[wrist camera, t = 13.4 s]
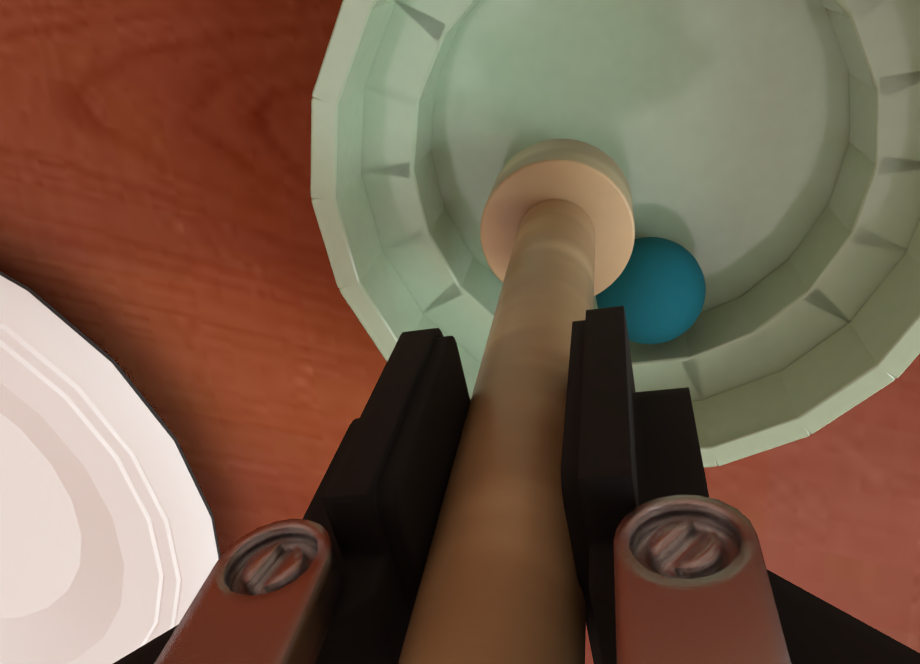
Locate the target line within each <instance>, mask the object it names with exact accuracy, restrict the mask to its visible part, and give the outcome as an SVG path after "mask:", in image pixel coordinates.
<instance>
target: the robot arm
mask: <svg viewBox="0 0 920 664" xmlns="http://www.w3.org/2000/svg"><path fill="white" fill-rule="evenodd" d="M469 405H470V397H469V393H468V388H467V384H466V380H465V376H464V372H463V367H462V363H461V359H460V355H459V351H458V346H457V343H456V340H455V338H454V337H453V336H443V334H442V332H441V330H440V329H439V328H432V329H424V330H415V331H407V332H402V334H401V335H400V337H399V339H398V341H397V343H396V345H395V347H394V349H393V351H392V353H391V355H390V357H389V359H388V361H387V364H386V366H385V368H384V370H383V372H382V374H381V376H380V378H379V380H378V382H377V384H376V386H375V388H374V390H373V392H372V394H371V396H370V398H369V400H368V402H367V404H366V406H365V408H364V411H363V413H362V415H361V417H360V418H358V419H355V420H353V422H352V423H351V424H350V426H349V428H348V430H347V432H346V434H345V436H344V438H343V440H342V442H341V444H340V446H339V448H338V450H337V452H336V454H335V456H334V458H333V460H332V462H331V464H330V466H329V468H328V470H327V472H326V474H325V476H324V478H323V480H322V482H321V484H320V486H319V488H318V490H317V492H316V494H315V496H314V498H313V500H312V502H311V503H310V505H309V507H308V509H307V511H306V513H305V515H304V517H303V519H288V520H282V521H276V522H273V523H270V524H267V525H265V526H262V527H259V528H257V529H255V530H253V531H252V532H250V533H248V534H246V535H244V536H243V537H241V538H240V539H239V540H237V541H236V542H235V543H234V544H233V545H231V546H230V547H229V548H228V549H227V550H226V551H225V552H224V553H223V555H222V556H221V557H220V558H219V560H218V561H217V562H216V564H215V565H214V567H213V569H212V570H211V572H210V574H209V575H208V577H207V579H206V580H205V582H204V583H203V585H202V587H201V588H200V590H199V592H198V593H197V595H196V596H195V598H194V600H193V601H192V603H191V605H190V606H189V608H188V609H187V611H186V613H185V614H184V616H183V618H182V619H181V621H180V623H179V624H178V625H176V626H175V627H173V628H171V629H170V630H168V631H166V632H165V633H163V634H161V635H160V636H158V637H156V638H155V639H153V640H151V641H150V642H148V643H146V644H145V645H143V646H141V647H140V648H138V649H136V650H135V651H133V652H131V653H130V654H128V655H126V656H125V657H123V658H121V659H120V660H118V661H116V662H115V663H113V664H398V662H399V658H400V654H401V651H402V647H403V644H404V640H405V636H406V633H407V629H408V625H409V622H410V618H411V615H412V611H413V607H414V604H415V600H416V596H417V593H418V589H419V586H420V582H421V578H422V575H423V571H424V567H425V564H426V560H427V557H428V553H429V549H430V546H431V542H432V539H433V535H434V531H435V528H436V524H437V520H438V517H439V513H440V510H441V506H442V502H443V499H444V495H445V491H446V488H447V484H448V481H449V477H450V473H451V470H452V466H453V463H454V459H455V455H456V452H457V448H458V444H459V441H460V437H461V434H462V430H463V426H464V423H465V419H466V415H467V412H468V408H469ZM561 488H562V497H563V504H564V510H565V515H566V520H567V526H568V531H569V536H570V541H571V547H572V552H573V557H574V562H575V567H576V573H577V578H578V583H579V585H580V587H581V589H582V591H583V594H584V598H585V603H586V625H587V630H588V635H589V641H590V646H591V651H592V656H593V661H594V664H920V653H918V652H916V651H914V650H912V649H911V648H909V647H907V646H905V645H903V644H902V643H900V642H898V641H896V640H894V639H892V638H891V637H889V636H887V635H885V634H883V633H881V632H880V631H878V630H876V629H874V628H872V627H871V626H869V625H867V624H865V623H863V622H861V621H860V620H858V619H856V618H854V617H852V616H851V615H849V614H847V613H845V612H843V611H841V610H840V609H838V608H836V607H834V606H832V605H831V604H829V603H827V602H825V601H823V600H821V599H820V598H818V597H816V596H814V595H812V594H810V593H809V592H807V591H805V590H803V589H801V588H800V587H798V586H796V585H794V584H792V583H790V582H789V581H787V580H785V579H783V578H781V577H780V576H778V575H776V574H774V573H772V572H770V571H769V570H767V569H766V566H765V562H764V558H763V555H762V551H761V547H760V543H759V539H758V536H757V533H756V531H755V529H754V528H753V526H752V524H751V522H750V520H749V519H748V518H747V517H745V516H744V515H743V514H742V513H741V512H740V511H739V510H738V509H736V508H734V507H732V506H730V505H728V504H726V503H724V502H722V501H720V500H717V499H713V498H709V494H708V489H707V483H706V478H705V472H704V467H703V461H702V456H701V450H700V445H699V439H698V434H697V428H696V423H695V417H694V412H693V406H692V401H691V395H690V390H689V387H686V388H675V389H664V390H654V391H643V392H636V391H635V383H634V376H633V368H632V361H631V353H630V345H629V338H628V330H627V323H626V315H625V309H624V306H616V307H607V308H599V309H591V310H586V318H585V320H581V321H573V322H572V332H571V344H570V357H569V369H568V382H567V394H566V407H565V419H564V432H563V444H562V457H561Z"/></svg>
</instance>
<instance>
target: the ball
mask: <svg viewBox="0 0 920 664" xmlns="http://www.w3.org/2000/svg"><path fill="white" fill-rule="evenodd" d="M705 294H706V286H705V279H704V275H703V272H702V270H701V268H700V266H699V264H698V262H697V260H696V259H695V258H694V256H693V255H692V254H691V253H690V252H689V251H688V250H686V249H685V248H684V247H683V246H681V245H679V244H678V243H676V242H673V241H671V240H668V239H664V238H659V237H643V238H638V239H635V240H634V246H633V250H632V254H631V256H630V259H629V261H628V263H627V265H626V267H625V269H624V270H623V272H622V273H621V274H620V276H619V277H618V278H617V279H616V280H615V281H614V282H613V283H612V284H611V285H610V286H609V287H607V288H606V289H605V290H604V291H602V292H600V293H599V294H597V295H596V302H597V306H598V309H599V308H607V307H616V306H624V309H625V315H626V323H627V330H628V338H629V340H630V341H633V342H636V343H641V344H659V343H664V342H667V341H670V340H673V339H675V338H677V337H678V336H680V335H682V334H683V333H684V332H686V331H687V330H688V329H689V328H690V327H691V326H692V325H693V324H694V322H695V321H696V320H697V318H698V316H699V315H700V313H701V310H702V308H703V305H704V301H705Z"/></svg>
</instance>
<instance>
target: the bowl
mask: <svg viewBox="0 0 920 664" xmlns="http://www.w3.org/2000/svg"><path fill="white" fill-rule="evenodd" d="M551 139H572V140H578V141H581V142H585V143H588V144H590V145H592V146H595V147H597V148H598V149H600V150H601V151H603V152H605V153H606V154H607V155H608V156H609V157H611V158H612V159H613V160H614V161H615V163H616V164H617V165H618V166H619V167H620V169H621V170H622V172H623V173H624V175H625V177H626V179H627V181H628V184H629V187H630V190H631V196H632V203H633V212H634V222H635V239H638V238H643V237H659V238H664V239H668V240H671V241H673V242H676V243H678V244H679V245H681V246H683V247H684V248H685V249H686V250H688V251H689V252H690V253H691V254H692V255H693V256H694V258H695V259H696V260H697V262H698V264H699V266H700V268H701V270H702V272H703V275H704V279H705V286H706V294H705V301H704V305H703V308H702V310H701V313H700V315H699V316H698V318H697V320H696V321H695V322H694V324H693V325H692V326H691V327H690V328H689V329H688V330H687V331H686V332H684V333H683V334H682V335H680V336H678V337H677V338H675V339H673V340H670V341H667V342H664V343H659V344H641V343H636V342H633V341H630V340H629V345H630V353H631V361H632V368H633V376H634V383H635V391H636V392H643V391H654V390H664V389H675V388H686V387H689V390H690V395H691V401H692V406H693V412H694V417H695V423H696V428H697V434H698V439H699V445H700V450H701V456H702V461H703V467H715V466H717V465H718V466H721V465H724V464H727V463H730V462H733V461H736V460H739V459H742V458H745V457H748V456H751V455H754V454H757V453H760V452H763V451H766V450H769V449H772V448H775V447H778V446H781V445H784V444H787V443H790V442H793V441H796V440H799V439H802V438H805V437H808V436H810V434H813V433H815V432H816V431H818V430H819V429H821V428H822V427H824V426H825V425H827V424H828V423H830V422H832V421H833V420H835V419H836V418H838V417H839V416H841V415H842V414H844V413H845V412H847V411H848V410H850V409H852V408H853V407H855V406H856V405H858V404H859V403H861V402H862V401H864V400H865V399H867V398H868V397H870V396H871V395H873V394H875V393H876V392H878V391H879V390H881V389H882V388H884V387H885V386H887V385H888V384H890V383H891V382H893V381H894V380H895V378H898V377H899V376H900V375H901V374H902V373H903V372H904V371H905V369H906V368H907V367H908V366H909V365H910V364H911V363H912V361H913V360H914V359H915V358H916V357H917V356H918V355H919V354H920V0H343V1H342V4H341V7H340V10H339V13H338V16H337V19H336V22H335V25H334V28H333V32H332V35H331V38H330V41H329V44H328V47H327V50H326V53H325V56H324V59H323V62H322V65H321V68H320V71H319V74H318V77H317V80H316V83H315V86H314V89H313V92H312V99H311V194H310V195H311V198H312V200H311V201H312V205H313V208H314V211H315V215H316V218H317V221H318V224H319V228H320V231H321V234H322V238H323V241H324V244H325V247H326V251H327V254H328V257H329V261H330V264H331V267H332V270H333V274H334V277H335V280H336V283H337V286H338V288H339V290H340V292H341V294H342V295H343V297H344V298H345V300H346V301H347V303H348V304H349V306H350V307H351V309H352V310H353V312H354V313H355V315H356V316H357V318H358V319H359V321H360V322H361V324H362V325H363V327H364V328H365V330H366V331H367V333H368V334H369V336H370V337H371V339H372V340H373V342H374V343H375V345H376V346H377V348H378V349H379V351H380V352H381V354H382V355H383V357H384V358H385V360H386V361H388V359H389V357H390V355H391V353H392V351H393V349H394V347H395V345H396V343H397V341H398V339H399V337H400V335H401V334H402V332H407V331H415V330H424V329H432V328H439V329H440V330H441V332H442V334H443V336H453V337H454V338H455V340H456V343H457V346H458V351H459V355H460V359H461V363H462V367H463V372H464V376H465V380H466V384H467V388H468V393H469V397H470V401H471V397H472V394H473V390H474V386H475V383H476V379H477V376H478V372H479V368H480V365H481V361H482V358H483V354H484V350H485V347H486V343H487V339H488V336H489V332H490V329H491V325H492V321H493V318H494V314H495V310H496V307H497V303H498V300H499V296H500V292H501V289H502V285H503V283H502V282H501V281H500V280H499V279H498V278H497V276H496V275H495V274H494V272H493V271H492V270H491V268H490V266H489V265H488V263H487V260H486V258H485V256H484V253H483V249H482V246H481V239H480V224H481V217H482V214H483V210H484V207H485V205H486V202H487V200H488V197H489V195H490V193H491V190H492V188H493V185H494V183H495V181H496V178H497V176H498V175H499V173H500V171H501V170H502V168H503V167H504V166H505V165H506V163H507V162H508V161H509V160H510V159H511V158H512V157H513V156H514V155H516V154H517V153H519V152H520V151H521V150H523V149H525V148H527V147H528V146H530V145H533V144H535V143H538V142H541V141H546V140H551ZM594 309H598V306H597V302H596V295H595V296H594Z"/></svg>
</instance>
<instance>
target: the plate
mask: <svg viewBox="0 0 920 664" xmlns="http://www.w3.org/2000/svg"><path fill="white" fill-rule="evenodd" d="M219 558H220V551H219V545H218V539H217V534H216V528H215V522H214V516H213V514H212V511H211V509H210V507H209V505H208V503H207V501H206V499H205V497H204V495H203V493H202V491H201V488H200V486H199V484H198V482H197V480H196V478H195V476H194V474H193V472H192V470H191V468H190V466H189V463H188V461H187V459H186V457H185V455H184V453H183V451H182V449H181V447H180V445H179V443H178V441H177V438H176V437H175V436H174V435H173V433H172V432H171V431H170V430H169V428H168V427H167V426H166V425H165V423H164V422H163V421H162V420H161V418H160V417H159V416H158V414H157V413H156V412H155V411H154V409H153V408H152V407H151V406H150V404H149V403H148V402H147V401H146V399H145V398H144V397H143V396H142V394H141V393H140V392H139V390H138V389H137V388H136V387H135V385H134V384H133V383H132V382H131V380H130V379H129V378H128V377H127V375H126V374H125V373H124V372H123V370H122V369H121V368H120V366H119V365H118V364H117V363H116V361H115V360H114V359H113V358H111V357H110V356H109V355H108V354H107V353H105V352H104V351H103V350H102V349H101V348H100V347H98V346H97V345H96V344H95V343H94V342H93V341H91V340H90V339H89V338H88V337H87V336H86V335H84V334H83V333H82V332H81V331H80V330H79V329H77V328H76V327H75V326H74V325H73V324H72V323H70V322H69V321H68V320H67V319H66V318H65V317H63V316H62V315H61V314H60V313H59V312H58V311H56V310H55V309H54V308H53V307H52V306H51V305H49V304H48V303H47V302H46V301H45V300H44V299H42V298H41V297H40V296H39V295H38V294H36V293H35V292H34V291H33V290H32V289H30V288H29V287H27V286H25V285H23V284H22V283H20V282H18V281H16V280H15V279H13V278H11V277H9V276H8V275H6V274H4V273H3V272H1V271H0V664H113V663H115V662H116V661H118V660H120V659H121V658H123V657H125V656H126V655H128V654H130V653H131V652H133V651H135V650H136V649H138V648H140V647H141V646H143V645H145V644H146V643H148V642H150V641H151V640H153V639H155V638H156V637H158V636H160V635H161V634H163V633H165V632H166V631H168V630H170V629H171V628H173V627H175V626H176V625H178V624H179V623H180V621H181V619H182V618H183V616H184V614H185V613H186V611H187V609H188V608H189V606H190V605H191V603H192V601H193V600H194V598H195V596H196V595H197V593H198V592H199V590H200V588H201V587H202V585H203V583H204V582H205V580H206V579H207V577H208V575H209V574H210V572H211V570H212V569H213V567H214V565H215V564H216V562H217V561H218V560H219Z"/></svg>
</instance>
